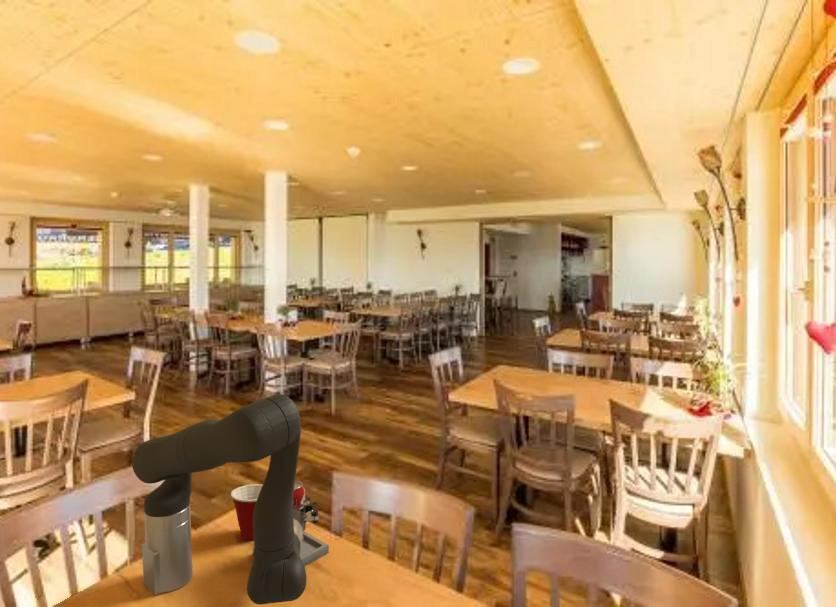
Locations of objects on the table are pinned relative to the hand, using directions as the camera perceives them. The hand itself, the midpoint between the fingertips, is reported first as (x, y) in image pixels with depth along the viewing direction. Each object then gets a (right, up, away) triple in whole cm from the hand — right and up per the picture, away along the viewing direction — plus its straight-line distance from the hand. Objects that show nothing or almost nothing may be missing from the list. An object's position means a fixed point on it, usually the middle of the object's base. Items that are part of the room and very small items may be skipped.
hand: (291, 500), depth 128 cm
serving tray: (0, -13, -1) cm, 13 cm away
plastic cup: (-12, -12, +8) cm, 19 cm away
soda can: (0, -7, -2) cm, 8 cm away
